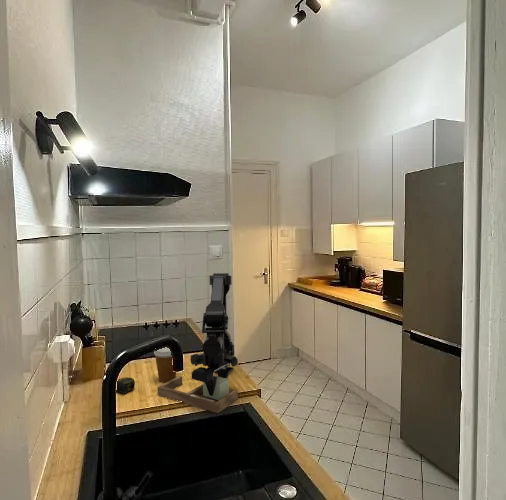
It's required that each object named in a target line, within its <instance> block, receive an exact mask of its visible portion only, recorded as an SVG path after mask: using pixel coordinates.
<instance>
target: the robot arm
mask: <svg viewBox="0 0 506 500" xmlns="http://www.w3.org/2000/svg"><path fill="white" fill-rule="evenodd" d="M229 274H230V273H227V272H226V273H225V272H224V273H221V272H217V273H215V272H213V274H212V275H209V280H208V281H209V286H211V296H210V302H209V304H208V305H206V306H205V311H204V312H203V314H202V315H203V316H202V328H201V333H202V334H206V337H205V340H204V342H203V344H202V351H203V352H201V353H199V354H198V353H194V354H191V355H190V359H189V360H190V364H191V365H192V366H193V365H194V367H197V366H199V365H202V367H201V366H199V367H198V368H195V369H193V371H192V372H191V380H193V381H199V382H202V383H203V382H205V384H206V387H207V390H208V392H209V395H211V396H212V395H213V393H214V389H215V385H216V381H217V377H215V376H216V375H215V373H216V374H217V376H219V377H223V378H227V379H229V375H230V374H231V372H232V371H233V369H234V367H236V366H238V361H239V360H238V358H237V357H236V356H235V345H234V343H233V341H232V340H231V338H232V337H231V334H230V333H229V332H228V330H229V316H228V311H227V295H228V293H229V291H230V289H231V285H233V284H232V283H233V282H232V281H233V280H232V279H233V277H232V275H229Z"/></svg>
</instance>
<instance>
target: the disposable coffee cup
mask: <svg viewBox="0 0 506 500" xmlns="http://www.w3.org/2000/svg"><path fill="white" fill-rule="evenodd" d="M153 354H154V356H155V364H156V369H157V376H158V381H159V382H161V383H166V382H168V381H170V380H172V379H174V378H176V377H177V371H176V372H173V365H172V355H171V351H170V349H169V348H167V347H165V348H162V349H159V350H157V351H155V350H154V352H153Z"/></svg>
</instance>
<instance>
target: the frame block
mask: <svg viewBox="0 0 506 500" xmlns="http://www.w3.org/2000/svg"><path fill="white" fill-rule="evenodd" d="M214 376H215V377H217V381H216V385H215V389H214V393H213V395H212V396H211V395H209V392H208V390H207V387H206V384H205V382H202V384H203V395H202V397H204V398H208V399H211V400H215V401H219V400H220V399H222V398H223V397H225V396H226V395H228V394H229V393H230V392H229V391H230V390H229V388H230V386H229V384H230V383H229V382H230V381H229V378H223V377H219V376H218V375H214Z"/></svg>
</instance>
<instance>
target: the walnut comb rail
mask: <svg viewBox="0 0 506 500" xmlns="http://www.w3.org/2000/svg"><path fill="white" fill-rule="evenodd" d="M182 385H183V376H182V375H179V376H176V378H174V379H172V380H170V381H168V382H163V383H162V384H160V385H158V386H157V396H158V395H159V396H158V397H162V398H165V397H167V398H166V399H168V398H170V399H169V400H172V399H174V400H173V401H175V400H178V401H182V402H184V403H183V404H186V405H189V406H192V407H195V408H199V409H202V410H205V411H208V412H212V413H214V414H215V413H216V414H219V413H220V412H222V411H223V410H225V409H226V408H228V407H229V406H231V405H232V404H234V403H235V402H236V401H237V400H238V398H239V397H238V396H239V391H238V390H236V389H233V390H232V391H231V392H229V394H228V395H226V396H225V397H223V398H222V399H220V400H215V399H212V398H208V397H205V396H203V383H202V384H201V385H200V386H199V385H198V386H197V387H195V388H194V389H191V390H190V391H188V392H185V391H180V390H178V389H176V387H177V388H178V386H179V387H180V386H182ZM201 395H202V396H201ZM200 396H201V397H200ZM178 401H177V402H178ZM182 402H181V403H182Z"/></svg>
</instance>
